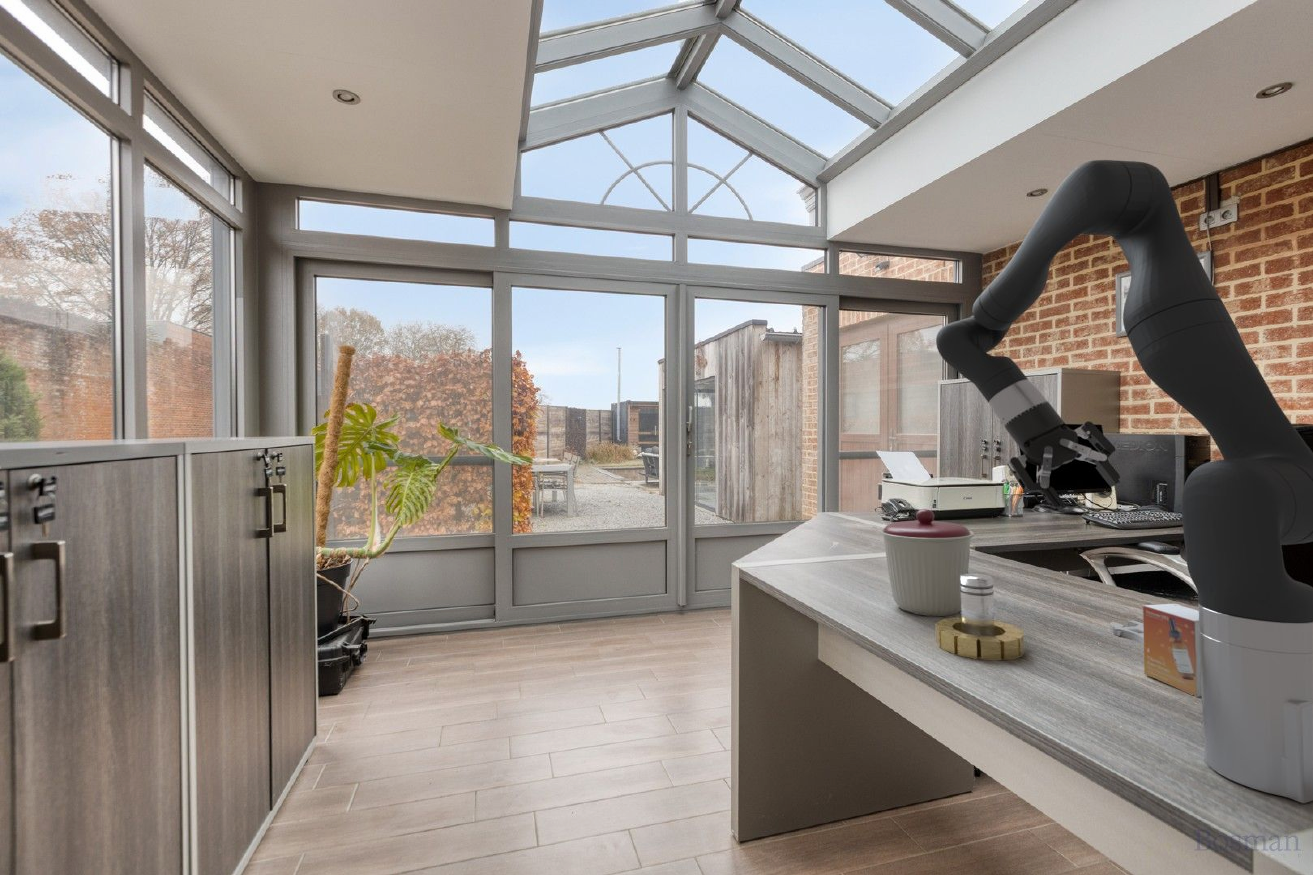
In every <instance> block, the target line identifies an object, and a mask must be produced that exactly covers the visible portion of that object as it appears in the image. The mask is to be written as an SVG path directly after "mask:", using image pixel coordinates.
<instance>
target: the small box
mask: <svg viewBox="0 0 1313 875" xmlns="http://www.w3.org/2000/svg"><path fill="white" fill-rule="evenodd" d="M1142 614H1143V615H1142V621H1143V622H1142V623H1143V631H1144V645H1143V667H1144V668H1143V670H1144V671H1143V672H1144V673H1143V674H1144V675H1145V676H1148V677H1150V678H1154V679H1155V680H1158V681H1160V682H1162V683H1165V684H1166V685H1169V686H1171V687H1173V688H1175V689H1178V690H1181V691H1182V692H1184V693H1187V694H1188V693H1189V694H1188V695H1190V694H1191V695H1190V696H1192V695H1194V696H1193V697H1195V698H1202V687H1201V661H1200V636H1199V609H1198V610H1197V609H1194V608H1191V607H1186V606H1184V605H1181V604H1178V603H1165V604H1164V603H1163V604H1162V603H1161V604H1145V605H1144V604H1143V605H1142Z"/></svg>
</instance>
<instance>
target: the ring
mask: <svg viewBox="0 0 1313 875" xmlns="http://www.w3.org/2000/svg"><path fill="white" fill-rule="evenodd" d="M994 624H995V636H976V635H970V634H965V633H962V617H960V616H959V617H950V618H943V619H940V620H939V621H937V622H936V623H934V627H935V634H934V635H935V643H936V644H937V645H938V647H939V648H941V649H942V650H944V651H947V652H948V653H951V654H953V655H956V654H957V656H960V657H965V658H970V659H974V660H975V659H976V660H978V659H981V660H984V661H1003V660H1004V661H1009V660H1014V659H1019V657H1020V658H1022V656H1023V655H1024V653H1026V651H1025V650H1026V649H1025V648H1026V647H1025V646H1026V645H1025V633H1024V632H1023V631H1022V630H1021V629H1020V628H1019V627H1016V626H1015V625H1012V624H1009V623H1006V622H1003V621H998V620H995V619H994Z"/></svg>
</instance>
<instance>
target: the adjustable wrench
mask: <svg viewBox="0 0 1313 875" xmlns="http://www.w3.org/2000/svg"><path fill="white" fill-rule="evenodd" d="M1126 625H1127V626H1125V625H1124V624H1121V623H1118V622H1115V621H1111V622H1110V624H1109V626H1110V629H1109V630H1110V632H1111V633H1112V634H1113V635H1114V636H1118V637H1123V638H1127V639H1130V640H1134V641H1136V642H1138V643H1140V644H1142V645H1143V646H1144V631H1143V622H1139V621H1134V620H1127V624H1126Z"/></svg>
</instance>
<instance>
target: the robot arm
mask: <svg viewBox="0 0 1313 875" xmlns="http://www.w3.org/2000/svg"><path fill="white" fill-rule="evenodd" d="M1179 212H1180V211H1179V209H1178V206H1177V203H1176V201H1175V198H1174V194H1173V192H1172V189H1171V187H1170V184H1169V183H1168V180H1167V178H1166V176H1165V175H1164V174H1163V172H1162V171H1161V170H1160V169H1159V168H1158V167H1156V166H1154V165H1153V164H1150V163H1148V162H1143V161H1135V160H1132V161H1129V160H1114V159H1099V160H1098V159H1095V160H1089V161H1087V162H1084V163H1082V164H1079V166H1077V167H1075V169H1073V170H1072V171H1071V172H1070V173H1068V175H1067V176H1066V177H1065V178H1064V179H1063V181H1062V182H1061V183H1060V184H1059V185H1058V187H1057V189H1056V190H1055V191H1054V193H1053V194H1052V196H1051V197H1050V199H1049V200H1048V202H1047V204H1046V205H1045V207H1044V208H1043V210H1042V211H1041V213H1040V215H1039V216H1038V218H1037V219H1036V221H1035V222H1034V224H1033V225H1032V226H1031V228H1030V230H1029V231H1028V233H1027V234H1026V236H1025V237H1024V240H1023V241H1022V242H1021V244H1020V245H1019V247H1018V249H1017V250H1016V252H1015V254H1014V255H1013V256H1012V258H1011V259H1010V261H1009V262H1008V263H1007V264H1006V266H1004V268H1003V269H1002V270H1001V272H1000V273H999V274H997V276H996V277H995V278H993V280H992V282H990V283H989V284H988V286H987V287H986V288H985V289H984V290H983V291H982V292H981V293H980V295H979V296H978V297H977V298H976V300H975V301H974V303H973V306H972V309H971V310H972V315H971V316H969V317H967V318H964V319H960V320H957V321H953V322H950V323H948V324H945V325H943V326H942V327H941V328H940V329H939V330H938V332H937V334H936V338H935V345H936V349H937V352H938V353H939V355H940V356H941V358H942V359H943V360H944V361H945V362H946V363H947V365H949V366H950V367H951V368H953V369H954V370H955V371H957V373H959V374H960V375H961V376H963V377H964V378H965V379H967V380H968V381H969V382H971V383H972V384H974V385H975V387H976V388H977V390H978V391H979V392H980V393H981V395H982V396H983V398H984V399H985V400H986V401H987V403H988V404H989V406H990V407H991V410H992V411H993V413H994V415H995V417H996V418H997V419H998V421H999V423H1000V424H1001V425H1002V426H1003V427H1004V428H1005V430H1006V431H1007V433H1008V434H1009V435H1010V437H1011V438H1012V439H1013V441H1014V442H1015V443H1016V445H1017V447H1018V448H1019V449H1020V450H1021V452H1022V455H1019V456H1017V457H1016V456H1012V457H1011V458H1010V459H1009V460H1008V461H1007V464H1006V465H1007V467H1008V469H1009V470H1010V471H1011V473H1012V474H1013V476H1014V478H1015V479H1016V481H1017V483H1018V484H1019V486H1020V487H1021V489H1022V490H1023V492H1024V493H1026V494H1031V493H1040V494H1041V496H1042V497H1043V498H1044V500H1045V501H1046V502H1047V503H1048V505H1049V506H1050V507H1051V508H1052V509H1053V510H1056V509H1057V511H1059V512H1061V511H1062V510H1065V509H1067V505H1066V503H1065V502H1064V501H1063V499H1062V498H1061V497H1060V495H1059V493H1057V491H1056V489H1054V487H1053V486H1050V479H1051V478H1050V477H1051V473H1052V471H1054V470H1057V469H1058V468H1059V467H1061V466H1062V465H1066V464H1068V463H1071V462H1072V461H1073V460H1078V461H1084V462H1086V463H1087V462H1088V463H1090V464H1093V465H1096V467H1095V469H1096V470H1097V472H1098V473H1099V474H1100V475H1101V477H1102V478H1103V479H1104V480H1105V482H1106V483H1107V484H1108V485H1109V487H1111V488H1112V487H1114V486H1118V485H1119V484H1120V483H1121V481H1120V479H1121V476H1120V474H1119V472H1118V471H1117V470H1116V468H1115V467H1114V466H1113V465H1112V464H1111V463H1110V461H1109V458H1110V456H1112V454H1113V453H1114V452H1116V447H1115V446H1114V444H1112V443H1111V442H1110V440H1109V439H1108V438H1107V437H1106V436H1105V435H1104V434H1103V433H1102V432H1101V430H1100V429H1098V427H1097V426H1096V425H1095V424H1094V423H1093V422H1092V421H1085V423H1083V424H1082V425H1081V426H1079V427H1077V428H1076V429H1071V428H1070V427H1069V426H1067V424H1066V422H1065V421H1064V420H1063V418H1062V417H1061V415H1060V414H1058V412H1057V411H1056V410H1055V408H1054V407H1053V406H1052V405H1051V404H1050V403H1051V402H1049V401H1048V399H1047V398H1046V397H1045V396H1044V395H1043V394H1042V391H1041V390H1039V389H1038V388H1037V387H1036V386H1035V385H1034V384H1033V383H1032V382H1031V381H1030V380H1029V379H1028V377H1027V376H1026V375H1025V373H1024V372H1023V371H1022V370H1021V368H1019V366H1018V364H1017V363H1016V362H1015V361H1014V360H1013V359H1012V358H1010V357H1009V356H1004V355H996V356H995V355H990V354H989V353H988V352H990V351H992V350H993V349H995V348H996V347H997V346H998V345H1000V343H1001V342H1002V341H1003V339H1004V338H1005V337H1006V335H1007V333H1008V332H1009V331H1010V328H1011V327H1012V324H1014V323H1015V322H1016V321H1017V320H1018V319H1019V318H1020V317H1021V316H1022V315H1023V314H1024V313H1025V312H1027V311H1028V309H1030V308H1031V307H1032V306H1033V305H1034V303H1036V302H1037V300H1038V299H1039V298H1040V297H1041V295H1042V293H1043V291H1044V289H1045V287H1046V285H1047V281H1048V278H1049V273H1050V268H1051V264H1052V262H1053V260H1054V259H1055V257H1056V256H1057V254H1058V253H1059V252H1061V250H1063V249H1064V248H1065V247H1066V246H1067V245H1068V244H1070V243H1071V242H1072V241H1074V240H1075V239H1076V238H1078V237H1079V236H1081V235H1084V236H1085V235H1086V236H1089V235H1091V236H1110V237H1111V238H1113V239H1114V240H1115V241H1116V243H1117V244H1118V246H1119V247H1120V249H1121V251H1122V253H1123V255H1124V257H1125V260H1126V261H1127V264H1128V266H1129V269H1130V270H1129V271H1130V283H1129V288H1128V290H1127V295H1126V299H1125V302H1124V306H1123V307H1124V308H1123V313H1122V320H1123V321H1122V322H1123V327H1124V332H1125V333H1126V337H1127V338H1128V341H1129V343H1130V345H1131V347H1132V350H1133V352H1134V354H1135V356H1136V359H1137V361H1138V362H1139V363H1138V364H1140V366H1141V368H1142V371H1144V373H1145V375H1147V377H1148V378H1149V379H1150V380H1151V381H1152V382H1153V383H1154V384H1155V385H1156V386H1157V387H1158V388H1159V389H1160V390H1162V392H1164V393H1165V394H1166V395H1167V396H1169V397H1170V398H1171V399H1172V400H1173V401H1174V402H1176V403H1177V404H1178V405H1179V406H1181V408H1183V409H1184V410H1185V411H1187V412H1188V413H1189V414H1190V415H1191V416H1193V417H1194V418H1195V419H1196V420H1197V421H1198V422H1199V423H1200V424H1201V426H1203V427H1204V428H1205V430H1206V431H1207V432H1208V434H1209V435H1210V437H1211V438H1212V441H1214V444H1216V446H1217V448H1218V451H1219V453H1220V455H1221V456H1222V458H1223V459H1217V460H1212V461H1208V462H1206V463H1203V464H1201V465H1199V466H1198V467H1196V468H1194V470H1193V471H1192V472H1191V473H1190V474H1189V475H1188V477H1187V479H1186V481H1185V483H1184V485H1183V490H1182V492H1181V493H1182V495H1181V520H1182V528H1183V529H1182V532H1183V539H1184V549H1185V557H1186V565H1187V570H1188V574H1189V576H1190V579H1191V580H1192V583H1193V585H1194V586H1195V589H1196V591H1197V600H1198V603H1197V604H1198V605H1197V606H1198V611H1199V636H1200V661H1201V687H1202V697H1201V705H1202V706H1201V707H1202V709H1201V710H1202V726H1203V728H1202V729H1203V737H1202V740H1203V742H1202V743H1203V747H1204V761H1205V763H1206V764H1207V766H1208V767H1210V768H1211V769H1212V770H1213V771H1215V772H1216V773H1218V774H1219V775H1221V776H1223V777H1225V778H1226V779H1229V780H1231V781H1233V782H1236V783H1238V784H1240V785H1242V786H1244V787H1245V786H1246V787H1248V788H1250V789H1253V790H1254V789H1255V790H1257V791H1261V792H1264V793H1268V794H1272V795H1277V796H1282V797H1285V798H1288V799H1290V800H1294V801H1296V802H1298V803H1301V804H1306V803H1309V802H1313V586H1311V585H1309V584H1307V583H1303V582H1301V581H1297V580H1295V579H1293V578H1292V577H1291V576H1290V575H1289V574H1288V572H1287V571H1286V568H1285V563H1284V557H1283V549H1282V546H1289V545H1298V544H1299V545H1300V544H1307V543H1312V542H1313V451H1312V449H1311V448H1310V447H1309V446H1308V445H1307V443H1306V441H1305V440H1304V439H1303V437H1302V436H1301V435H1300V434H1299V431H1298V430H1296V428H1295V426H1294V425H1293V424H1292V423H1291V421H1290V419H1289V418H1288V417H1287V415H1286V414H1285V413H1284V410H1283V409H1282V408H1281V406H1280V405H1279V403H1278V402H1277V400H1276V398H1275V396H1274V394H1273V393H1272V390H1271V389H1270V387H1269V386H1268V383H1267V382H1266V380H1265V378H1264V377H1263V375H1262V373H1261V371H1260V370H1259V367H1258V366H1257V363H1255V361H1254V359H1253V358H1252V356H1251V354H1250V352H1249V351H1248V349H1247V347H1246V345H1245V343H1244V340H1243V338H1242V336H1241V334H1240V332H1239V330H1238V328H1237V326H1236V324H1235V322H1234V320H1233V319H1232V316H1231V315H1230V313H1229V311H1228V309H1227V307H1226V306H1225V304H1224V302H1223V300H1222V298H1221V297H1220V295H1219V293H1218V292H1217V290H1216V289H1215V287H1214V286H1213V284H1212V282H1211V280H1210V278H1209V276H1208V274H1207V272H1206V270H1205V268H1204V267H1203V266H1204V265H1203V263H1202V261H1201V260H1200V259H1199V256H1198V254H1197V252H1196V250H1195V249H1194V247H1193V244H1192V243H1191V241H1190V239H1189V236H1188V233H1187V231H1186V229H1185V226H1184V224H1183V220H1182V217H1181V215H1180V213H1179ZM1079 437H1081V438H1082V439H1084V440H1088V441H1089V443H1091V445H1092V446H1093V447H1094V448H1095V449H1096V450H1097V451H1096V450H1093V449H1092V448H1091V447H1088V446H1086V445H1082V444H1079V443H1078V442H1079ZM1026 462H1028V463H1030V464H1033V465H1035V466H1036V482H1034V481H1033V480H1032V478H1031V476H1030V475H1029V473H1028V471H1027V470H1026V469H1025V468H1027V467H1026V466H1027V463H1026Z"/></svg>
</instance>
